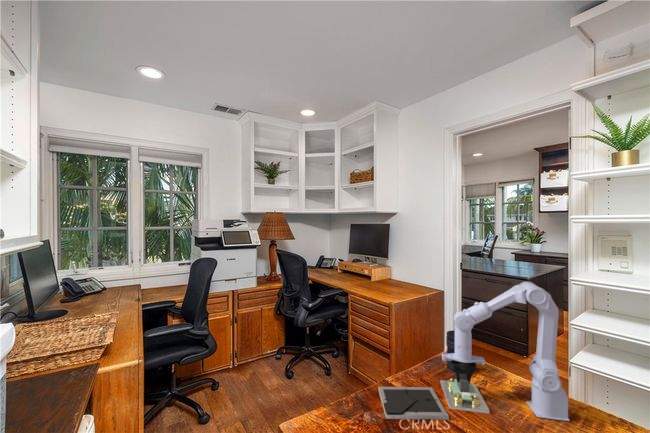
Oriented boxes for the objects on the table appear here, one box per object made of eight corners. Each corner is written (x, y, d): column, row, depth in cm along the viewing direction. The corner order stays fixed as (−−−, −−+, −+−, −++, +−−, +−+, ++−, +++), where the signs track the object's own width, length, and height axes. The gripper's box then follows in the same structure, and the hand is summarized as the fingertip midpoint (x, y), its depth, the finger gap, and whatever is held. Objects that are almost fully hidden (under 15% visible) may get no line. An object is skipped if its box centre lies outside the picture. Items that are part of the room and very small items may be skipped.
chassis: (474, 386, 113) (474, 376, 113) (489, 413, 97) (489, 402, 97) (440, 382, 115) (440, 373, 115) (449, 408, 100) (449, 397, 100)
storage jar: (441, 367, 127) (441, 334, 127) (452, 360, 133) (453, 328, 133) (464, 377, 119) (464, 341, 119) (474, 369, 125) (474, 335, 125)
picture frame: (386, 421, 94) (448, 421, 94) (386, 412, 94) (448, 413, 94) (378, 392, 110) (431, 392, 110) (378, 384, 110) (431, 385, 110)
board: (469, 382, 111) (469, 370, 111) (479, 401, 99) (480, 388, 99) (447, 379, 113) (447, 368, 113) (455, 398, 101) (455, 385, 101)
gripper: (480, 342, 109) (480, 377, 109) (440, 338, 111) (440, 373, 111) (487, 350, 102) (487, 388, 102) (444, 346, 105) (444, 383, 105)
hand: (462, 381), depth 106 cm, fingers closed on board, 3 cm apart
